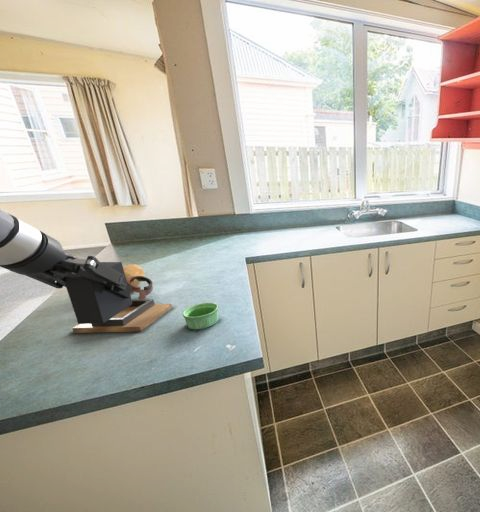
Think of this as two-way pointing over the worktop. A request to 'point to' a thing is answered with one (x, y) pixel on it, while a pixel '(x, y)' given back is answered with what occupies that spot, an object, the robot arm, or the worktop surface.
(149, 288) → the pottery mug
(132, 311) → the wooden base board
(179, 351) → the worktop surface
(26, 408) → the worktop surface
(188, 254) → the worktop surface
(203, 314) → the ramekin
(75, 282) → the dark gray block
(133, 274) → the tan rounded piece
